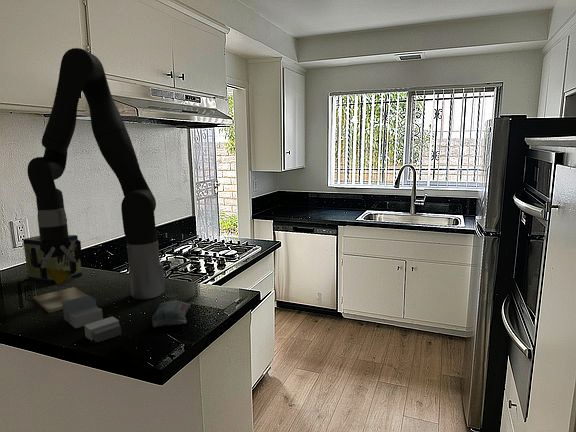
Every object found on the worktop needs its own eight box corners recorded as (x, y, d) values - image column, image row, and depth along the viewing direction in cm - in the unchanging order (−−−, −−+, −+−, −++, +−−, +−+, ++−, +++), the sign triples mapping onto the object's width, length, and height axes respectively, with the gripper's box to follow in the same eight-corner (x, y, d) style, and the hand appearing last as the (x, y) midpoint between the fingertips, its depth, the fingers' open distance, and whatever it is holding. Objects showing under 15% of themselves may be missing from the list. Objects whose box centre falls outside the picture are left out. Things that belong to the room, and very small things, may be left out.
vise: (90, 311, 118) (88, 295, 117) (123, 334, 103) (121, 315, 102) (64, 319, 113) (62, 301, 112) (94, 344, 98) (92, 324, 97)
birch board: (74, 289, 138) (74, 286, 138) (92, 301, 126) (92, 298, 126) (33, 299, 129) (33, 296, 129) (49, 312, 118) (48, 309, 118)
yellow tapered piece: (77, 287, 128) (49, 272, 121) (64, 293, 129) (36, 279, 122) (80, 273, 132) (53, 257, 125) (67, 279, 133) (40, 264, 126)
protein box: (58, 284, 144) (53, 241, 142) (27, 280, 150) (21, 239, 147) (83, 275, 154) (78, 235, 151) (53, 272, 159) (47, 233, 157)
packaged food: (192, 312, 116) (190, 295, 115) (186, 330, 104) (184, 311, 103) (160, 314, 115) (158, 297, 114) (151, 333, 103) (149, 314, 102)
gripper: (73, 219, 132) (79, 269, 134) (22, 225, 121) (29, 279, 124) (82, 221, 126) (88, 273, 129) (28, 228, 116) (36, 284, 119)
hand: (59, 276), depth 127 cm, fingers closed on yellow tapered piece, 7 cm apart
